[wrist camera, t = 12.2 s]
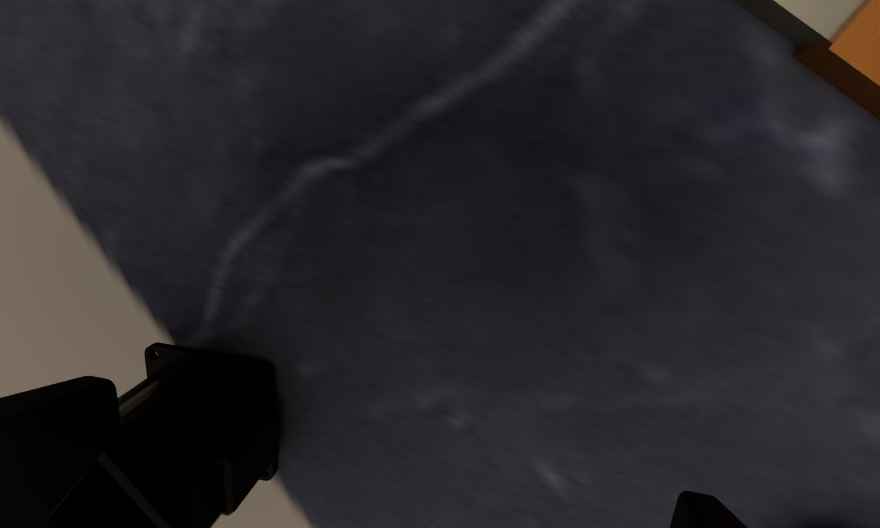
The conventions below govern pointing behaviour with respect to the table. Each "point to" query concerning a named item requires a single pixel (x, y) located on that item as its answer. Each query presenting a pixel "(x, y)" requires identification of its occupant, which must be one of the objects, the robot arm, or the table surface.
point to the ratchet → (832, 41)
